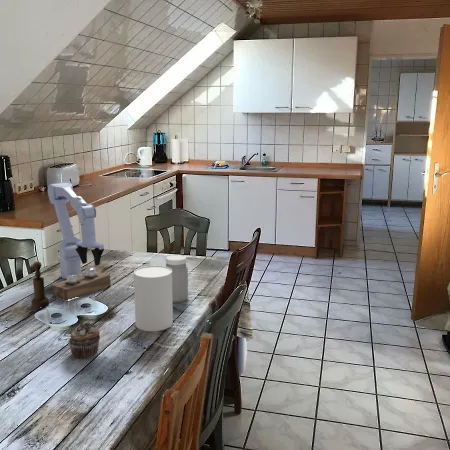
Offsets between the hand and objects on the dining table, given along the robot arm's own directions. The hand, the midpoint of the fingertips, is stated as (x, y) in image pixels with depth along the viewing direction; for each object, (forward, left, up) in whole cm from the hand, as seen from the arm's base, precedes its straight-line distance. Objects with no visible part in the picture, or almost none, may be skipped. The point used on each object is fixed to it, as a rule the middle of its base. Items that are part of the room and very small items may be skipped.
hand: (91, 264), depth 215 cm
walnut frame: (0, -5, -11) cm, 12 cm away
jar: (+39, +10, -11) cm, 42 cm away
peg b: (0, 0, -7) cm, 7 cm away
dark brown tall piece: (-1, -26, -11) cm, 28 cm away
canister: (+47, -13, -11) cm, 50 cm away
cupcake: (+44, -43, -11) cm, 62 cm away
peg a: (0, -10, -7) cm, 12 cm away
